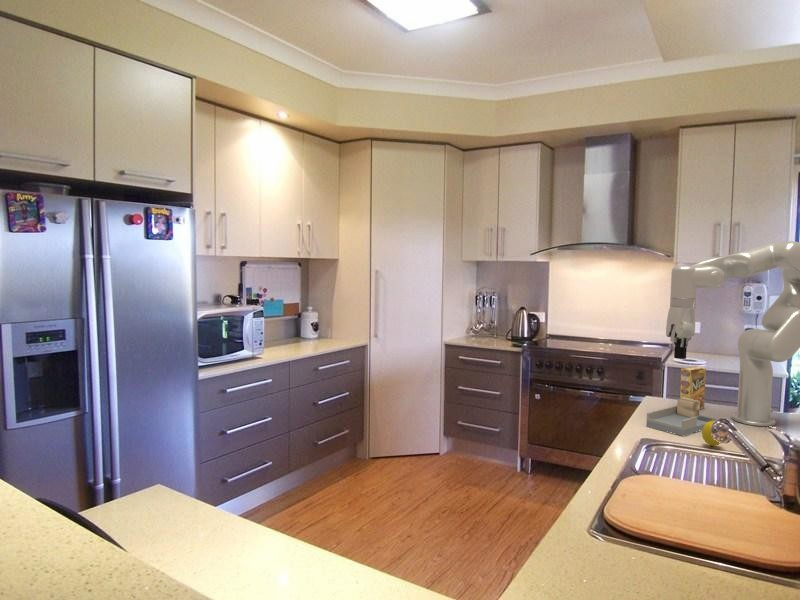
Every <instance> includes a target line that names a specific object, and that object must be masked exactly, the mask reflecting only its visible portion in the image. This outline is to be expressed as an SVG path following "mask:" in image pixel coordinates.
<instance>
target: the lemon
mask: <svg viewBox="0 0 800 600" xmlns="http://www.w3.org/2000/svg"><path fill="white" fill-rule="evenodd" d="M714 422H715V421H714V420H712V421H710V422H707V423H706V424H705V425H704V426H703V429H702V431H701V435H702V439H703V441H704V442H705V443H706V444H707V445H709V446H710V447H711V446H714V447H715V446H719V445H721V443H719V442H717V441H716V440H714V439H713V438H712V436H711V426H712V424H713V423H714Z"/></svg>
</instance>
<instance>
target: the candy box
mask: <svg viewBox="0 0 800 600" xmlns="http://www.w3.org/2000/svg"><path fill="white" fill-rule="evenodd" d="M680 369H681V370H680V393H679V395H680V396H679V399H683V398H689V399H693V400H698V401H700V409H699V410H703V409H705V398H706V397H705V394H706V377H707V375H706V374H707V373H706V371H707V368H706V367H702V366H696V365H695V366H689V367H683V368H680Z"/></svg>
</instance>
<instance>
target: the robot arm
mask: <svg viewBox="0 0 800 600" xmlns="http://www.w3.org/2000/svg"><path fill="white" fill-rule="evenodd" d="M778 268H781V275H782V279H783V290H782V292H781V293H780V295H779V296H778V298H776V299H775V301H774V302H773V303H772V304H771V305H770V306H769V308H768V309H767V310H766V311H765V312H764V314H763V315H762V318H761V325H762V327H763V328H764V329H759V328H750V329H747V330H744V331H743V332H741V334H740V335H739V336H738V339H737V350H738V357H739V374H738V377H739V378H738V394H737V409H736V410H737V411H736V413H732V414H731V419H732V420H733V421H735V422H737V423H741V424H745V425H750V426H756V427H773V426H775V425H776V420H775V419H774V418H773V417H771V413H773V412H774V409H773V408H772V392H773V380H774V379H773V378H774V377H773V376H774V370H773V364H772V362H775V363H783V362H784V363H785V362H786V361H788V360H789V359H791V358H792V357H793V356H794V355H795V354H796V353H797V352H798V351H799V349H800V242H798V241H774V242H768V243H766V244H763V245H759V246H757V247H753V248H750V249H747V250H743V251H741V252H737V253H732V254H728V255H723V256H720V257H716V258H711V259H708V260H704V261H700V262H697V263H694V264H692V265H690V266H687V265H686V266H685V265H683V266H682V265H679V266H678V265H677V266H674V267H672V268H671V279H670V296H669V297H670V300H669V301H670V302H669V309H668V312H667V319H666V327H665V335H666V337H667V338H670V340H669V341H670V342H672V343H673V347H674V352H673V353H674V354H673V358H674V359H678V360H686V359H687V348H688V346H689V345H688V344H689V341H691V340H692V337H693V336H694V335H695V333H696V332H695V331H696V311H695V309H696V302H697V289H708V290H713V289H716V288H719V287H721V286H722V285H723V284H724V282H725V280H727V279H743V278H748V277H752V276H756V275H758V274H760V273H765V272H767V271H771V270H773V269H778Z"/></svg>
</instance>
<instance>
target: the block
mask: <svg viewBox="0 0 800 600" xmlns="http://www.w3.org/2000/svg"><path fill="white" fill-rule="evenodd" d="M676 406H677V414H679V415H683V416H687V417H691V418H692V417H695V416H699V415H700V410H701V409H700V401H698V400H693V399H689V398H683V399H680V398H678V399H677V404H676Z"/></svg>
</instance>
